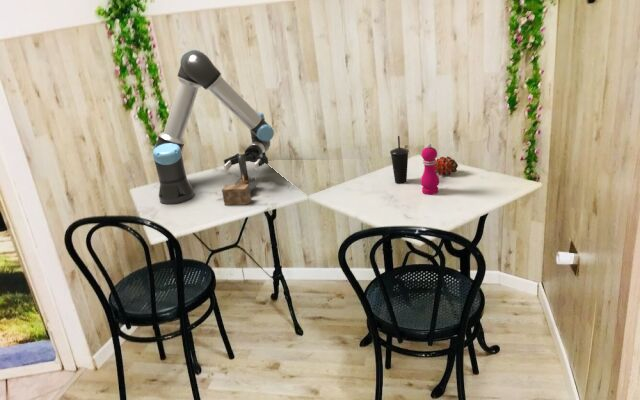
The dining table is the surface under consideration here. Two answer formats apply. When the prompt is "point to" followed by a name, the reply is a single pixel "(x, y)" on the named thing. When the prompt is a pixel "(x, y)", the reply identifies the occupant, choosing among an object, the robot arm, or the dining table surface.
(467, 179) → the dining table surface
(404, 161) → the drinking cup
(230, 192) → the socket block
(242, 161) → the mallet
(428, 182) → the pepper mill
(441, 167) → the pine cone
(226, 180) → the dining table surface
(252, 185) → the channel
